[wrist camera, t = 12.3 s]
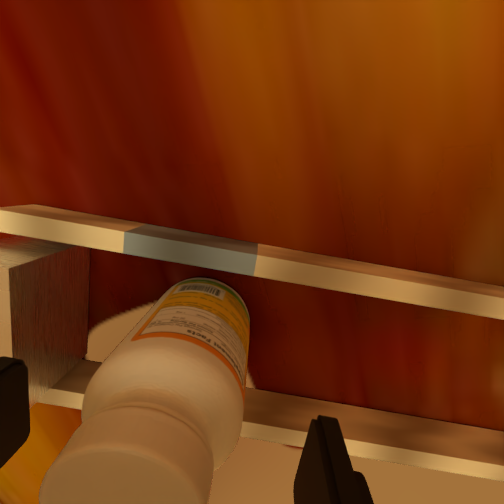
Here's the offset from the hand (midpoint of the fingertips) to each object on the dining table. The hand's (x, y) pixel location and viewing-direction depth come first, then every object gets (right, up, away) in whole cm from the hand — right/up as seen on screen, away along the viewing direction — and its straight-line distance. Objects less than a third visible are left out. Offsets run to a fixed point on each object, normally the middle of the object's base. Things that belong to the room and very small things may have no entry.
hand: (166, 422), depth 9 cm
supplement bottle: (0, +2, +7) cm, 7 cm away
